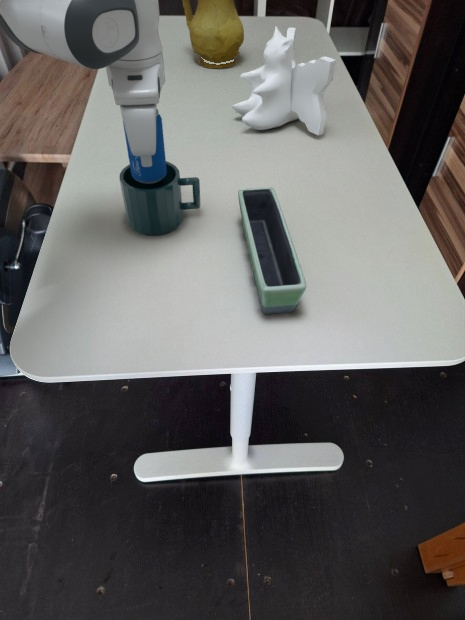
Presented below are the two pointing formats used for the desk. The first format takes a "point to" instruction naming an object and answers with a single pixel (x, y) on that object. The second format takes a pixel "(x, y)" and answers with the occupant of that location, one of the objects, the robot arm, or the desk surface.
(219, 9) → the pitcher
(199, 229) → the desk surface
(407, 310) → the desk surface
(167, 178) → the teal faceted mug
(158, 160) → the beverage can
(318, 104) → the white faceted figurine
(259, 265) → the planter
